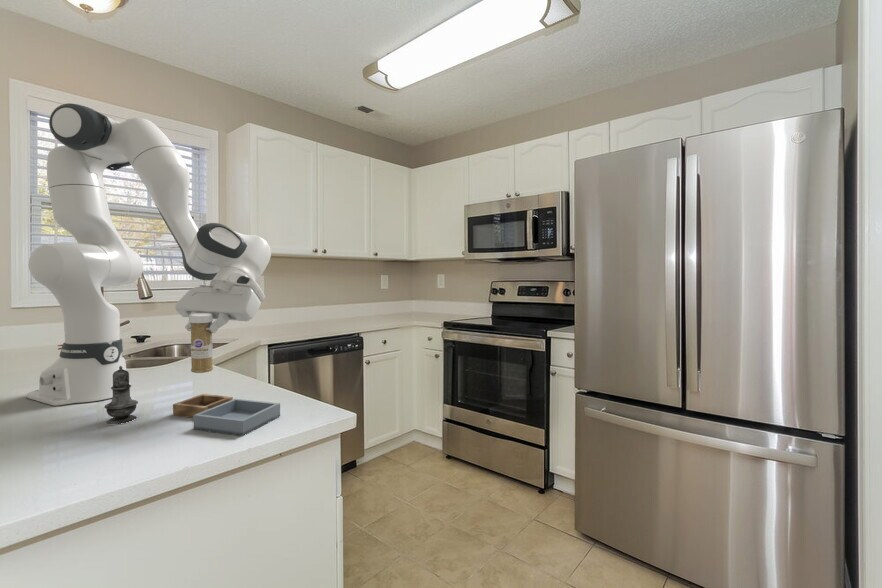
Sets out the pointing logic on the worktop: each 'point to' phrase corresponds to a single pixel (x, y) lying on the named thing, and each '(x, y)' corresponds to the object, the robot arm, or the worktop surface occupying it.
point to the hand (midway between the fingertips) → (199, 330)
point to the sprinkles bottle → (201, 343)
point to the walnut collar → (198, 404)
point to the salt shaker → (121, 399)
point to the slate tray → (236, 416)
